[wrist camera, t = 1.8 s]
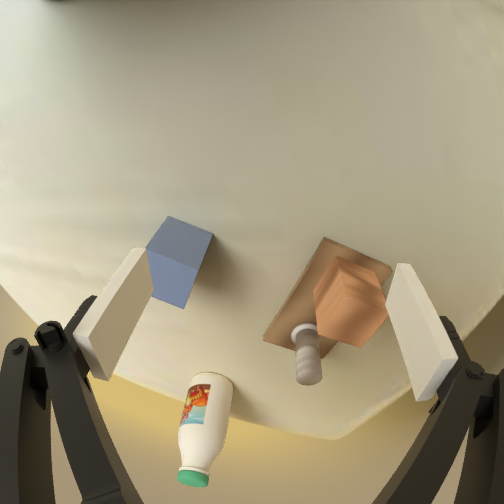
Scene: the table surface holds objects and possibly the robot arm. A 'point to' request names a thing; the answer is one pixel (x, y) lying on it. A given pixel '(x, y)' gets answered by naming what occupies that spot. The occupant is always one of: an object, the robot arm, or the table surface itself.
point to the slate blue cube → (176, 260)
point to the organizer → (330, 307)
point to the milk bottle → (203, 426)
